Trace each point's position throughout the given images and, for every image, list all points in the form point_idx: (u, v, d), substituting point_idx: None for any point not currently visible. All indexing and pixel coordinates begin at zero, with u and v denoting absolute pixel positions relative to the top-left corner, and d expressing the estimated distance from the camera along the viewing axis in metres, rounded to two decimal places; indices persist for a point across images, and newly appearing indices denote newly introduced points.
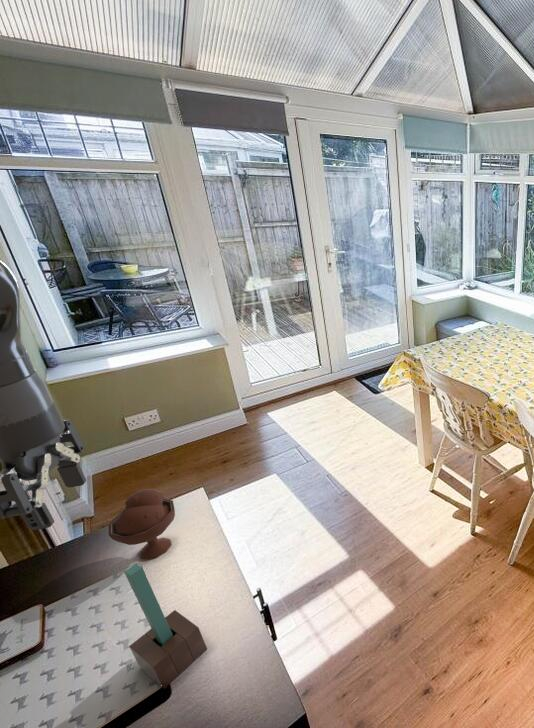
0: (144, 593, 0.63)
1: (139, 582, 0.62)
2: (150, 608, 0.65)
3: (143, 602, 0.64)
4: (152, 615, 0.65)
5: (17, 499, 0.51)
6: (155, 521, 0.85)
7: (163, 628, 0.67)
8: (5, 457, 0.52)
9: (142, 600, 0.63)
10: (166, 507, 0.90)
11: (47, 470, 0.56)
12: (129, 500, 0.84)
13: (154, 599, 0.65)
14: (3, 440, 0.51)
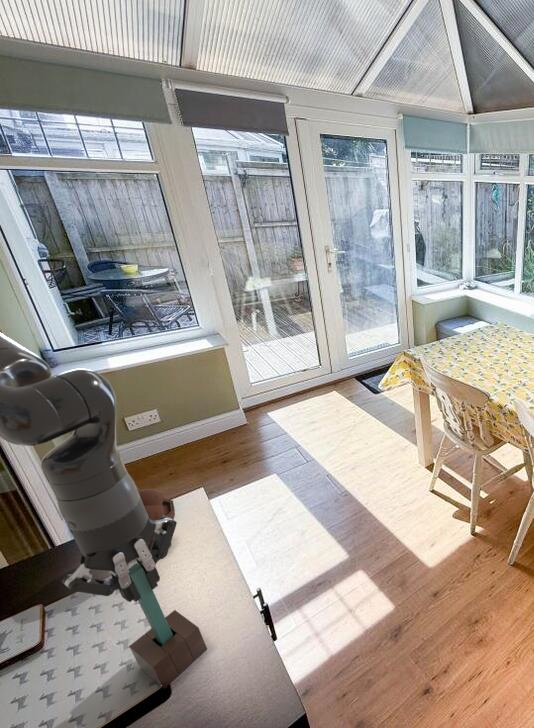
0: (144, 593, 0.63)
1: (139, 582, 0.62)
2: (150, 608, 0.65)
3: (143, 602, 0.64)
4: (152, 615, 0.65)
5: (92, 593, 0.57)
6: None
7: (163, 628, 0.67)
8: (81, 551, 0.56)
9: (142, 600, 0.63)
10: (166, 507, 0.90)
11: (115, 567, 0.58)
12: None
13: (154, 599, 0.65)
14: (76, 540, 0.55)
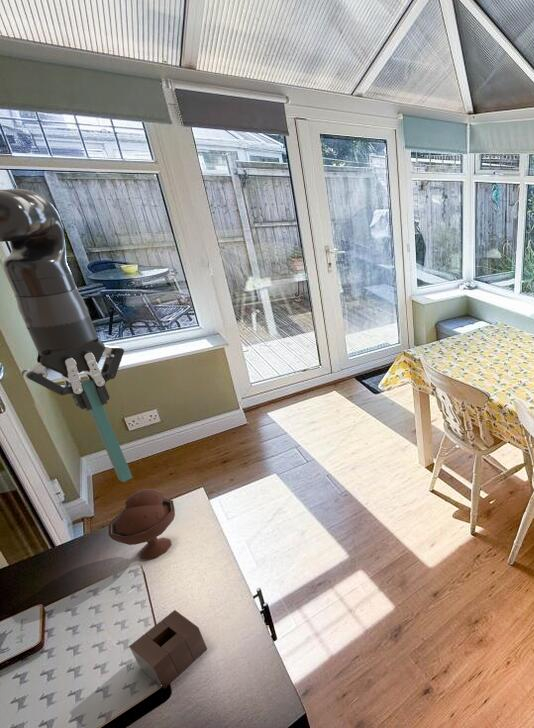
0: (95, 405, 0.75)
1: (90, 394, 0.74)
2: (101, 421, 0.76)
3: (94, 413, 0.75)
4: (103, 429, 0.77)
5: None
6: (155, 521, 0.85)
7: (114, 444, 0.79)
8: (37, 350, 0.68)
9: (93, 411, 0.75)
10: (166, 507, 0.90)
11: (67, 371, 0.70)
12: (129, 500, 0.84)
13: (105, 414, 0.77)
14: (33, 337, 0.66)
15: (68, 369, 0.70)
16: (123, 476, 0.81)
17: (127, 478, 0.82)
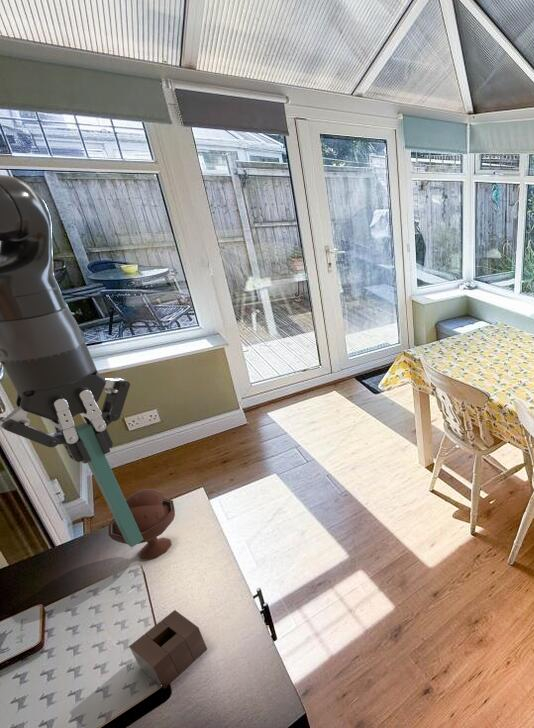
0: (95, 456, 0.58)
1: (88, 442, 0.57)
2: (103, 475, 0.60)
3: (94, 466, 0.58)
4: (106, 484, 0.60)
5: None
6: (155, 521, 0.85)
7: (119, 502, 0.62)
8: (17, 391, 0.51)
9: (93, 463, 0.58)
10: (166, 507, 0.90)
11: (57, 415, 0.53)
12: (129, 500, 0.84)
13: (107, 466, 0.60)
14: (10, 374, 0.50)
15: (58, 413, 0.53)
16: (131, 540, 0.65)
17: (137, 541, 0.65)
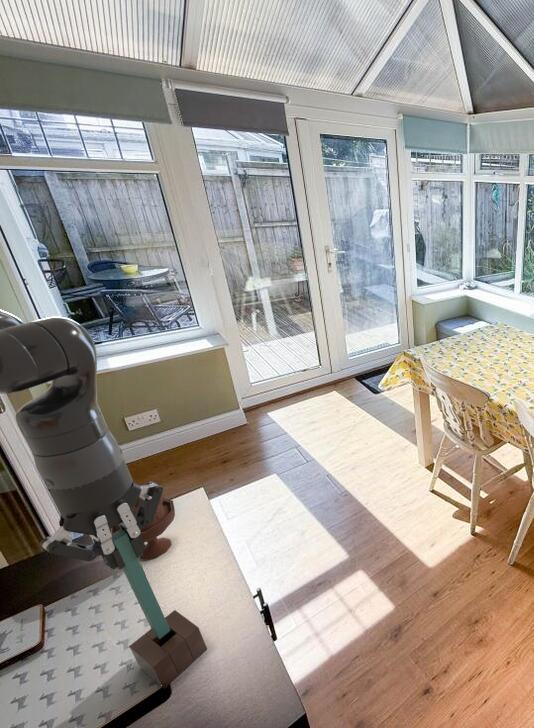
0: (129, 561, 0.61)
1: (123, 549, 0.60)
2: (135, 577, 0.62)
3: (128, 570, 0.61)
4: (138, 585, 0.62)
5: (72, 557, 0.54)
6: (155, 521, 0.85)
7: (150, 599, 0.64)
8: (60, 513, 0.53)
9: (127, 568, 0.60)
10: (166, 507, 0.90)
11: (97, 531, 0.55)
12: None
13: (140, 568, 0.62)
14: (55, 500, 0.52)
15: (98, 529, 0.55)
16: (159, 632, 0.67)
17: (164, 633, 0.67)
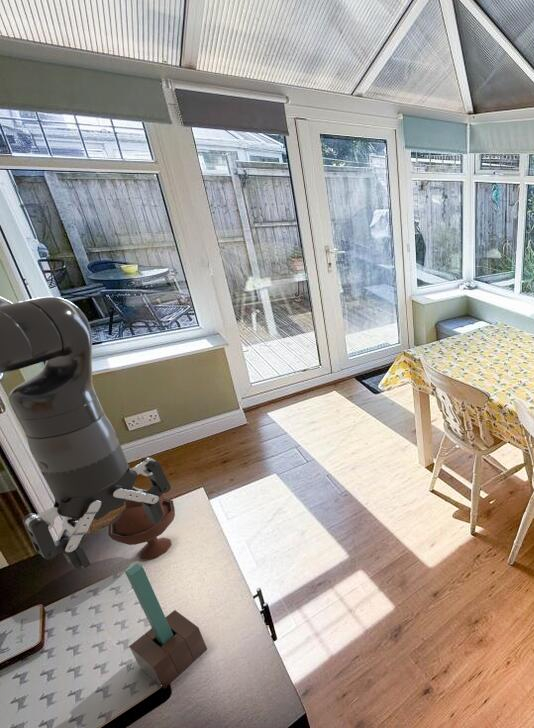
0: (145, 593, 0.63)
1: (140, 582, 0.62)
2: (151, 608, 0.65)
3: (144, 602, 0.64)
4: (153, 615, 0.65)
5: (38, 545, 0.51)
6: None
7: (164, 628, 0.67)
8: (54, 497, 0.52)
9: (143, 600, 0.63)
10: (166, 507, 0.90)
11: (92, 517, 0.55)
12: (129, 500, 0.84)
13: (155, 599, 0.65)
14: (49, 483, 0.51)
15: (85, 515, 0.54)
16: None
17: None
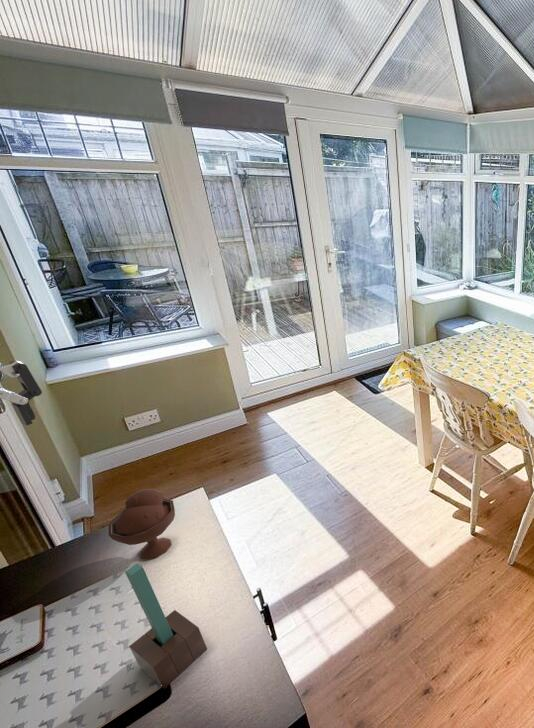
0: (145, 593, 0.63)
1: (140, 582, 0.62)
2: (150, 608, 0.65)
3: (144, 602, 0.64)
4: (153, 615, 0.65)
5: None
6: (155, 521, 0.85)
7: (164, 628, 0.67)
8: None
9: (143, 600, 0.63)
10: (166, 507, 0.90)
11: None
12: (129, 500, 0.84)
13: (155, 599, 0.65)
14: None
15: None
16: None
17: None
